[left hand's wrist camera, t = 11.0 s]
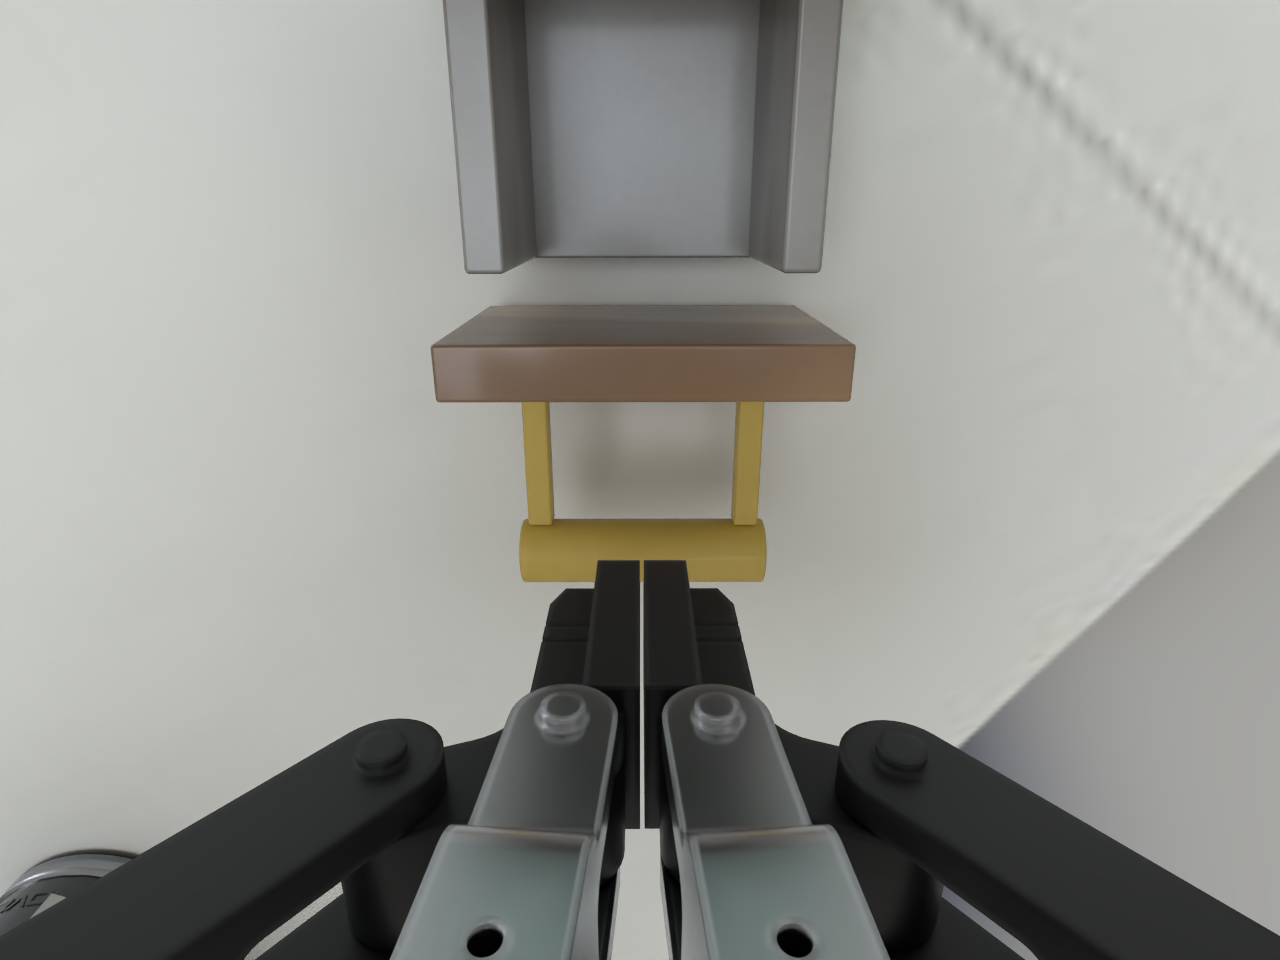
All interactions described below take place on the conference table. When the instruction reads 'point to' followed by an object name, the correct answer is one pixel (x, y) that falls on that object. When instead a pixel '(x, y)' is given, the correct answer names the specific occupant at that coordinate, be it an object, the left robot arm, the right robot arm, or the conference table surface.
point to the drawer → (643, 232)
